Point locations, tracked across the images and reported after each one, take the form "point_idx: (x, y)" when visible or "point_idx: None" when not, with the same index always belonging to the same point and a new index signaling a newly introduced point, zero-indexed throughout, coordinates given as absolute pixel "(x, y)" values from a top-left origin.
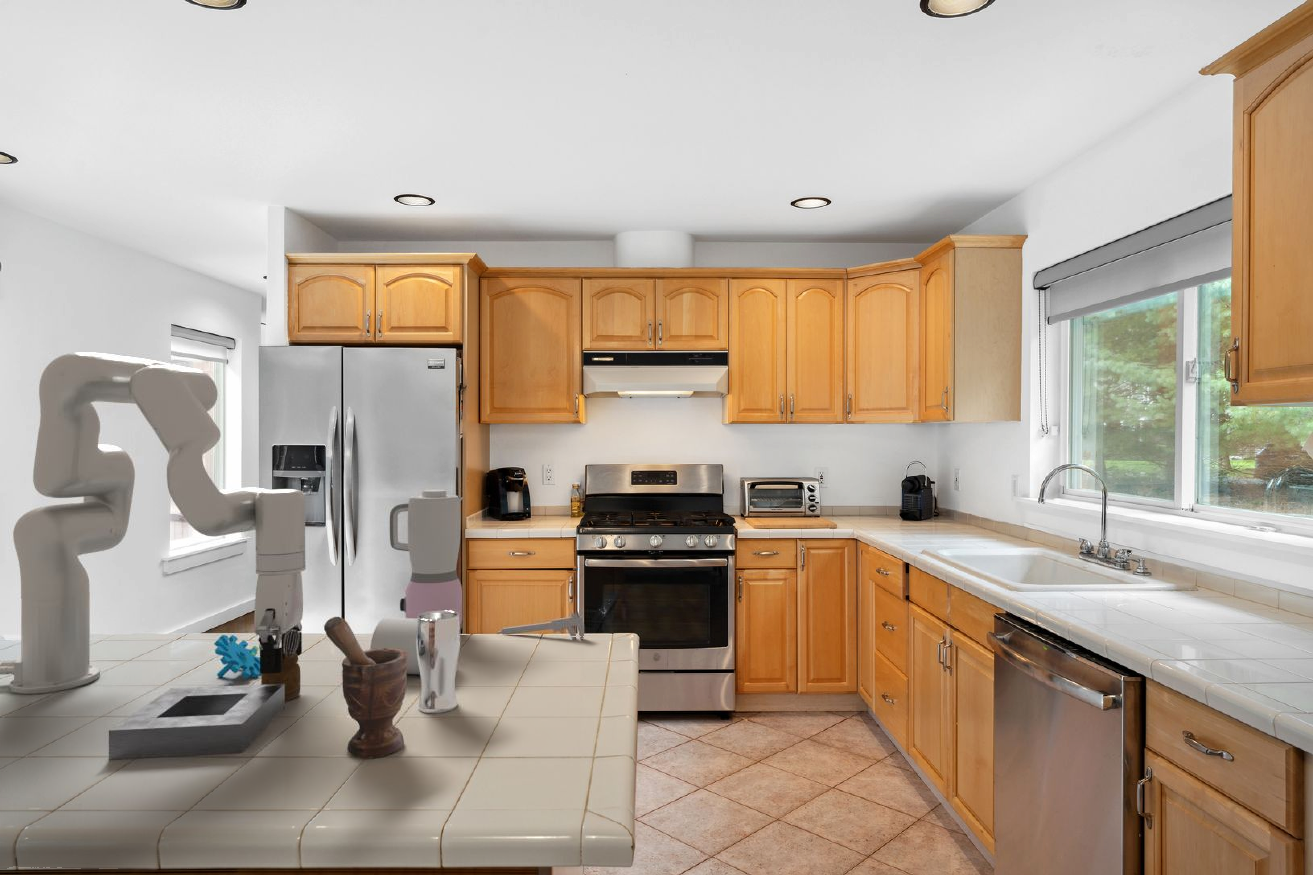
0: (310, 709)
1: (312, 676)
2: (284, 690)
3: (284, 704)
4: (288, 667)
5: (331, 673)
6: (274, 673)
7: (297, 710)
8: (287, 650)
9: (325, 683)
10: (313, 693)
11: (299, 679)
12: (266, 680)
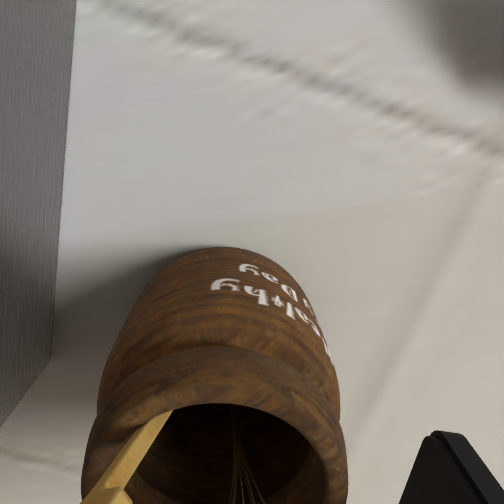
0: (15, 455)
1: (496, 414)
2: (4, 417)
3: (42, 370)
4: (139, 489)
5: (500, 480)
6: (97, 401)
7: (12, 411)
8: (429, 499)
9: (359, 472)
10: None
11: (204, 457)
12: (125, 327)
